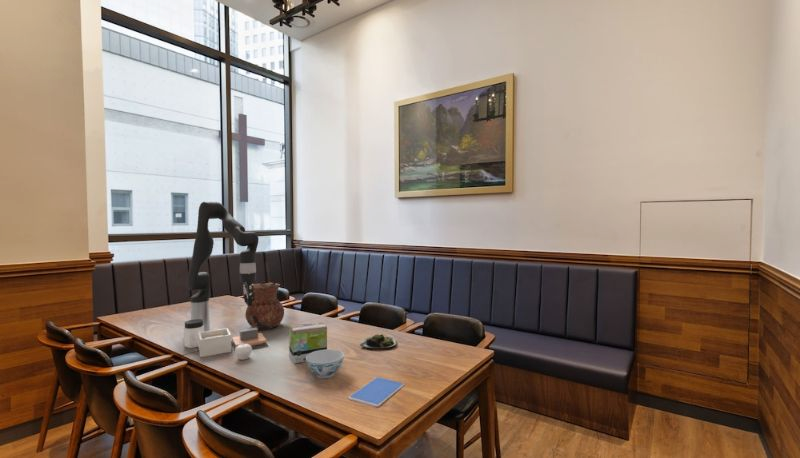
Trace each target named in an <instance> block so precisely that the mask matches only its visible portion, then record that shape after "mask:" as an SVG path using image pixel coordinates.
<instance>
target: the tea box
mask: <svg viewBox="0 0 800 458" xmlns="http://www.w3.org/2000/svg"><path fill="white" fill-rule="evenodd" d="M288 327H289V328H288V329H289V331H288V334H289V336H288V341H289V342H288V343H289V345H288V349H289V350H288V352H289V353H288V356H289V358H290V359H291V360H290V361H291V362H292V363H293V364H294V365H295V364H298V363H299V364H300V363H303V362H306V356H307V355H308V354H310V353H312V352H314V351H318V350H326V349H328V326H326V325H325V323H324V322H323V321H316V322H315V321H314V322H307V323H299V324H298V323H297V324H290V325H289V326H288Z"/></svg>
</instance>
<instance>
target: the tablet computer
mask: <svg viewBox="0 0 800 458" xmlns="http://www.w3.org/2000/svg"><path fill="white" fill-rule="evenodd" d="M404 386H405V384H404V382H401V381H396V380H392V379H387V378H383V377H379V376H377V377H375V378H373V379H372V380H370V381H369V382H368V383H366V384H365V385H364V386H362V387H361V388H359V389H358V390H356V391H355V392H354V393H352V394H350V395H349V396H348V399H349V400H350V401H353V402H357V403H360V404H364V405H367V406H372V407H376V408H377V407H380V406H381V405H383V403H385V402H386V401H387V400H388V399H390V397H392V396H393V395H394V394H395V393H397V392H398V391H399V390H401V389H402V388H403V387H404Z"/></svg>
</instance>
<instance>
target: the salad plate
mask: <svg viewBox="0 0 800 458" xmlns="http://www.w3.org/2000/svg"><path fill="white" fill-rule="evenodd" d="M396 346H397V341H396V339H395V338H394V337H392V336H384V334H382V333H381V334H379V333H377V334H374V335H373V336H371V337H366V338H364V339H363V341H362V342H361V343H360V344H359V347H362V348H364V349H365V350H368V351H385V350H387V351H388V350H392V349H394V348H395V347H396Z"/></svg>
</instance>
